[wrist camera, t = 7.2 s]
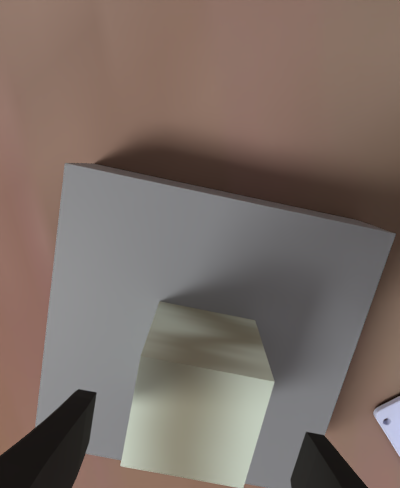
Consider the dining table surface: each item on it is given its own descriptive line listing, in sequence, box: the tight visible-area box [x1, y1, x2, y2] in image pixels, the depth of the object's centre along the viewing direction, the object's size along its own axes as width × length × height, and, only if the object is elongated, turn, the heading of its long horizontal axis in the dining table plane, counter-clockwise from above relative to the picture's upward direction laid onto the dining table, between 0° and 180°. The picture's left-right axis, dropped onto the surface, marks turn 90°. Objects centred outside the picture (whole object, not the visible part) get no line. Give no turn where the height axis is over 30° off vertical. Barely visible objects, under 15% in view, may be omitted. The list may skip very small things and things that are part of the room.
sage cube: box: [121, 301, 275, 488], centre depth 15 cm, size 5×5×5 cm
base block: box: [35, 163, 396, 488], centre depth 19 cm, size 16×16×4 cm
